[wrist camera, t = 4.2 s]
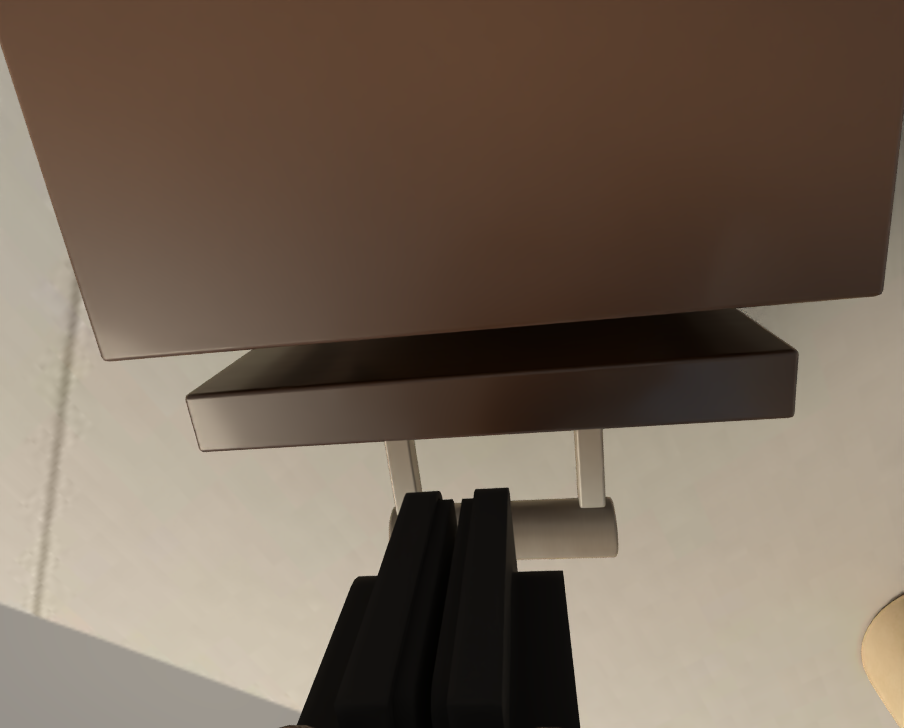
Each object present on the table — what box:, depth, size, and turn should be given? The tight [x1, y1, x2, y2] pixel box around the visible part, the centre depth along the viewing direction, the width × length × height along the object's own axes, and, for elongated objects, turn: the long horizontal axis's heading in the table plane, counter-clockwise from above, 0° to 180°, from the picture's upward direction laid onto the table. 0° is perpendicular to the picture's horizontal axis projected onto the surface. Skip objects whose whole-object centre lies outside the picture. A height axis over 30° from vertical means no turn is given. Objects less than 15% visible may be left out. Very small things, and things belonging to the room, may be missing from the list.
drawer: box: [186, 308, 799, 560], centre depth 12 cm, size 18×11×7 cm, turn 7°
